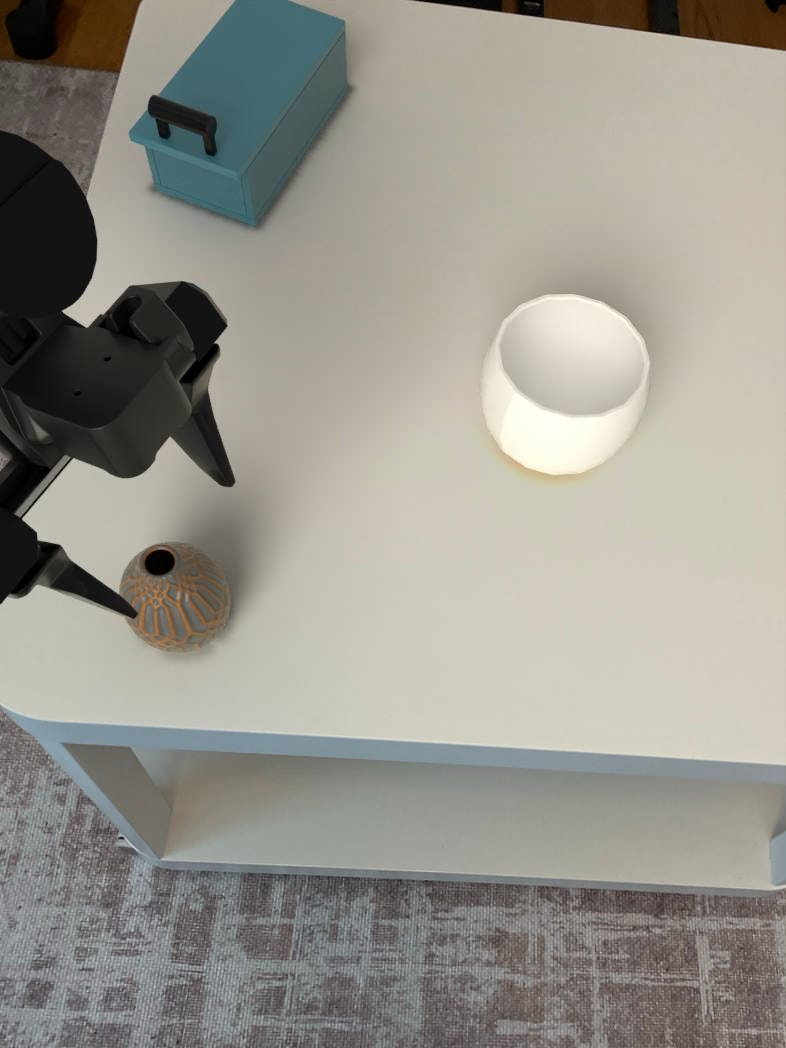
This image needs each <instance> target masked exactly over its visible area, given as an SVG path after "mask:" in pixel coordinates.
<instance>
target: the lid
mask: <svg viewBox="0 0 786 1048" xmlns="http://www.w3.org/2000/svg"><path fill="white" fill-rule="evenodd" d="M344 31H345V32H346V19H342V18H339V17H337V16H334V15H331V14H329V13H324V12H322V11H320V10H318V9H314V8H311V7H308V6H306V5H304V4H300V3H297V2H295V1H292V0H234V1H233V2H232V4H231V5H230V6H229V7H228V8H227V10H226V11H225V12H224V13H223V15H222V16H221V17H220V19H218V21H217V22H215V25H214V26H213V27H212V29H211V30H210V31H209V32H208V33H207V35H205V37H204V38H203V39H202V41H201V42H200V43H199V44H198V46H197V47H196V48H195V49H194V51H193V52H192V53H191V54H190V55H189V56H188V58H187V59H186V60H185V61H184V63H183V64H182V65H181V66H180V68H178V70H177V72H176V73H175V74H174V75H173V77H172V78H171V79H170V80H169V81H168V83H167V84H166V85H165V87H164V88H163V89H162V90H161V91H160V92H159V94H158V95H157V94H152V95H151V96H150V97H149V98H148V102H147V108H146V110H145V111H144V112H143V114H141V116H140V117H139V118H138V120H137V121H136V122H135V123H134V125H133V126H132V127H131V128H130V129H129V131H128V137H129V141H130V142H132V143H135V144H138V145H140V146H142V147H144V148H145V147H148V148H151V149H154V150H156V151H159V152H162V153H164V154H167V155H170V156H172V157H175V158H178V159H181V160H183V161H186V162H189V163H191V164H194V165H197V166H200V167H202V168H205V169H208V170H210V171H213V172H216V173H218V174H221V175H224V176H227V177H229V178H232V179H235V180H237V181H239V179H240V178H241V177H242V175H243V174H244V172H245V171H246V169H247V168H248V167H249V165H250V164H251V162H252V161H253V160H254V158H255V157H256V155H257V154H258V152H259V151H260V150H261V148H262V147H263V145H264V144H265V143H266V141H267V140H268V138H269V137H270V135H271V134H272V133H273V131H274V130H275V128H276V127H277V126H278V124H279V123H280V121H281V120H282V118H283V117H284V116H285V114H286V113H287V111H288V110H289V109H290V107H291V106H292V104H293V103H294V101H295V100H296V99H297V97H298V96H299V94H300V93H301V92H302V90H303V89H304V87H305V86H306V84H307V83H308V82H309V80H310V79H311V77H312V76H313V75H314V73H315V72H316V70H317V69H318V67H319V66H320V65H321V63H322V62H323V60H324V59H325V58H326V56H327V55H328V53H329V52H330V50H331V49H332V48H333V46H334V45H335V43H336V42H337V41H338V39H339V38H340V36H341V35H342V33H343V32H344Z"/></svg>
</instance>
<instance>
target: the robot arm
mask: <svg viewBox="0 0 786 1048" xmlns="http://www.w3.org/2000/svg"><path fill="white" fill-rule="evenodd" d="M97 261H98V235H97V229H96V223H95V218H94V215H93V212H92V209H91V207H90V204H89V202H88V199H87V197H86V195H85V193H84V191H83V190H82V188H81V186H80V184H79V183H78V181H77V180H76V178H75V176H74V175H73V173H72V172H71V171H70V170H69V169H68V168H67V166H66V165H65V164H64V163H63V162H62V161H61V160H59V159H56V158H55V157H53V156H52V155H50V154H49V153H48V152H47V151H45V150H44V149H43V148H42V147H40V146H39V145H38V144H36V143H35V142H33V141H30V140H29V139H26V138H24V137H22V136H20V135H19V134H16V133H12V132H9V131H5V130H2V129H0V455H2V456H3V457H4V458H5V459H6V460H7V461H8V462H7V463H6V464H5V466H3V467H2V468H1V470H0V605H2V604H3V603H4V602H5V600H6V599H7V598H11V599H14V600H16V599H17V600H18V599H23V598H25V597H26V596H28V594H30V593H31V592H32V591H33V590H34V589H35V588H36V586H40V587H44V588H46V589H48V590H52V591H53V592H57V593H59V594H63V595H65V596H67V597H70V598H73V599H75V600H78V601H81V602H84V603H85V604H88V605H91V606H94V607H97V608H100V609H102V610H105V611H107V612H110V613H112V614H115V615H118V616H121V617H122V618H124V617H126V618H130V619H136V617H137V616H138V612H137V611H136V610H135V609H134V608H133V607H132V606H131V605H130V604H129V603H128V602H127V601H126V600H125V599H124V598H123V597H122V596H120V595H119V592H116V591H115V590H114V589H112V588H111V587H110V586H108V585H106V583H104V582H102V581H101V580H100V579H98V578H97V577H95V576H94V575H92V573H90V572H89V571H87V570H86V569H85V568H82V566H80V565H78V564H77V563H76V562H74V561H73V560H72V559H71V558H70V557H69V555H68V554H67V552H66V550H65V548H64V547H63V546H62V545H61V543H60V544H59V543H55V542H50V541H44V540H39V539H38V531H36V530H35V529H34V528H33V527H32V526H30V525H29V524H28V523H27V522H26V521H25V520H23V519H24V517H25V516H26V515H27V514H28V513H29V512H30V510H31V509H32V508H33V507H34V505H35V504H37V502H38V501H39V500H40V498H41V497H42V496H43V495H44V494H45V493H46V491H47V490H48V489H49V488H50V487H51V486H52V484H53V483H54V482H55V481H56V479H57V478H58V477H59V476H60V475H61V474H62V472H63V471H64V470H65V469H66V468H67V466H68V465H69V464H70V463H71V462H72V460H73V459H74V460H77V461H79V462H82V463H85V464H88V465H90V466H92V467H93V466H94V467H96V468H98V469H101V470H103V471H105V472H106V473H108V474H109V475H110V476H113V477H116V478H119V479H133V478H137V477H139V476H141V475H142V474H144V473H145V472H146V471H148V470H149V468H150V467H151V466H152V465H153V464H154V463H155V461H156V460H157V459H156V458H157V454H158V452H159V451H160V450H161V449H162V447H163V446H164V445H165V444H166V442H167V441H168V439H169V438H171V439H172V440H173V441H174V443H176V444H177V445H178V446H179V448H180V449H181V450H182V451H183V452H184V453H185V454H186V455H187V457H189V459H191V461H192V462H193V463H194V464H195V465H196V466H197V467H198V468H199V469H200V470H202V471H203V472H204V473H205V474H206V475H207V476H208V477H210V478H211V480H213V481H214V482H215V483H217V484H218V485H219V486H220V487H222V488H233V487H234V485H235V484H236V482H237V481H236V477H235V474H234V471H233V469H232V466H231V462H230V460H229V457H228V454H227V451H226V448H225V445H224V442H223V439H222V436H221V433H220V431H219V430H220V429H219V426H218V424H217V421H216V418H215V414H214V411H213V406H212V401H211V397H210V391H209V387H210V386H209V385H210V381H211V377H212V373H213V369H214V366H215V365H216V363H217V361H218V360H219V359H220V357H221V347H220V344H219V343H216V342H217V341H218V339H219V338H220V337H221V336H222V334H223V333H224V332H225V331H226V330H227V328H228V327H229V324H228V319H227V317H226V316H225V314H224V313H223V312H222V310H221V309H220V308H219V306H218V305H217V303H216V302H215V301H214V299H213V298H212V297H211V295H210V294H209V292H207V291H206V290H205V289H203V288H201V287H200V286H198V285H197V284H195V283H193V282H189V281H185V280H176V281H165V282H154V283H144V284H131V285H128V287H127V288H126V289H125V290H124V291H123V292H122V293H121V294H120V296H118V298H117V299H116V300H115V301H114V302H113V303H112V304H111V305H110V306H109V308H108V309H106V311H105V312H104V313H99V315H97V316H96V318H95V319H94V320H93V321H92V322H91V324H89V326H87V327H86V326H85V325H83V324H81V323H80V322H78V321H77V320H75V319H74V318H73V317H71V316H69V315H68V314H66V313H65V312H64V311H65V310H66V309H68V308H70V307H71V306H73V305H74V304H75V303H76V302H78V301H79V300H80V299H81V297H83V295H84V294H85V291H86V290H87V289H88V286H89V285H90V284H91V281H92V279H93V276H94V272H95V269H96V266H97Z"/></svg>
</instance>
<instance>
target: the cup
mask: <svg viewBox="0 0 786 1048" xmlns="http://www.w3.org/2000/svg"><path fill="white" fill-rule="evenodd" d="M480 373H481V374H480V379H479V385H478V388H479V394H480V399H481V407H482V413H483V416H484V420H485V423H486V426H487V429H488V432H489V433H490V434H491V436H492V437H493V439H494V440H495V442H496V444H497V445H498V447H499V448H500V449H501V451H502V452H503V453H505V454H506V455H507V456H509V457H510V458H512V459H514V460H515V461H516V462H518V463H519V464H520V465H522V466H523V467H525V468H526V469H530V470H533V471H537V472H540V473H545V474H547V475H551V476H557V475H558V476H559V475H575V474H583V473H584V472H587V471H589V470H591V469H594V468H596V467H598V466H600V465H603V464H604V463H606V462H607V461H608V460H609V459H610V458H612V457H613V456H614V455H615V454H616V453H617V452H618V451H619V450H620V449H621V448H622V447H623V445H624V444H625V443H626V442H627V441H628V440H629V439H630V437H632V435H633V434H634V433H635V432H636V430H637V427H638V426H639V423H640V421H641V418H642V416H643V414H644V412H645V409H646V404H647V400H648V396H649V391H650V387H651V378H652V376H651V375H652V363H651V359H650V356H649V352H648V349H647V345H646V340H645V339H644V338H643V336H642V335H641V334H640V332H639V331H638V330H637V328H636V327H635V325H633V323H632V322H631V321H630V320H629V318H628V317H627V316H626V315H624V314H623V313H621V312H619V311H618V310H616V309H615V308H613V307H612V306H611V305H608V303H605V302H604V301H602V300H597V299H594V298H591V297H587V296H583V295H580V294H575V293H561V294H559V293H558V294H555V293H554V294H543V295H541V296H539V297H536V298H534V299H530V300H528V301H526V302H523V303H520V304H518V306H516V307H515V308H514V309H513V310H512V311H511V312H510V313H509V314H508V315H507V316H506V317H505V318H504V319H503V320H502V321H501V322H500V323H499V325H498V327H497V328H496V330H495V332H494V333H493V335H492V336H491V338H490V341H489V344H488V347H487V351H486V353H485V356H484V360H483V362H482V367H481V372H480Z"/></svg>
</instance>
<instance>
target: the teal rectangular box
mask: <svg viewBox="0 0 786 1048" xmlns="http://www.w3.org/2000/svg"><path fill="white" fill-rule="evenodd" d="M346 34H347V33H346V30H345V31H344V32H343V33H342V35H341V36H340V38H339V39H338V41H337V42H336V43H335V45H334V46H333V48H332V49H331V50H330V52H329V53H328V55H327V56H326V58H325V59H324V60H323V62H322V63H321V65H320V66H319V67H318V69H317V70H316V72H315V73H314V75H313V76H312V77H311V79H310V80H309V82H308V83H307V84H306V86H305V87H304V89H303V90H302V92H301V93H300V94H299V96H298V97H297V99H296V100H295V101H294V103H293V104H292V106H291V107H290V109H289V110H288V111H287V113H286V114H285V116H284V117H283V118H282V120H281V121H280V123H279V124H278V126H277V127H276V128H275V130H274V131H273V133H272V134H271V135H270V137H269V138H268V140H267V141H266V143H265V144H264V145H263V147H262V148H261V150H260V151H259V152H258V154H257V155H256V157H255V158H254V160H253V161H252V162H251V164H250V165H249V167H248V168H247V169H246V171H245V172H244V174H243V175H242V177H241V178H240V179H239V181H237V180H235V179H232V178H229V177H227V176H224V175H221V174H218V173H216V172H213V171H210V170H208V169H205V168H202V167H200V166H197V165H194V164H191V163H189V162H186V161H183V160H181V159H178V158H175V157H172V156H170V155H167V154H164V153H162V152H159V151H156V150H154V149H151V148H148V147H145V146H144V150H145V153H146V157H147V161H148V165H149V166H148V167H149V169H150V173H151V178H152V181H153V186H154V189H155V190H156V191H158V192H161V193H164V194H166V195H169V196H172V197H174V198H177V199H180V200H182V201H185V202H188V203H191V204H193V205H196V206H199V207H201V208H204V209H206V210H209V211H212V212H214V213H217V214H220V215H223V216H226V217H228V218H231V219H233V220H236V221H239V222H241V223H243V224H244V223H245V224H247V225H250V226H252V227H257V226H258V224H259V223H260V221H261V219H262V218H263V216H264V215H265V213H266V212H267V210H268V209H269V208H270V206H271V204H272V203H273V202H274V200H275V199H276V197H277V195H278V194H279V193H280V191H281V190H282V189H283V187H284V185H285V184H286V182H287V181H288V179H289V178H290V176H291V175H292V173H293V172H294V171H295V169H296V168H297V166H298V164H299V163H300V161H301V160H302V158H303V157H304V155H305V154H306V153H307V151H308V150H309V148H310V147H311V146H312V144H313V142H314V140H315V139H316V137H317V136H318V134H319V133H320V132H321V131H322V129H323V127H324V126H325V125H326V123H327V122H328V120H329V118H330V117H331V116H332V114H333V112H334V111H335V109H336V108H337V107H338V105H339V103H340V102H341V100H342V99H343V98H344V96H345V95H346V93H347V91H348V76H347V75H348V73H347V72H348V71H347V38H346V36H347V35H346Z"/></svg>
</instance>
